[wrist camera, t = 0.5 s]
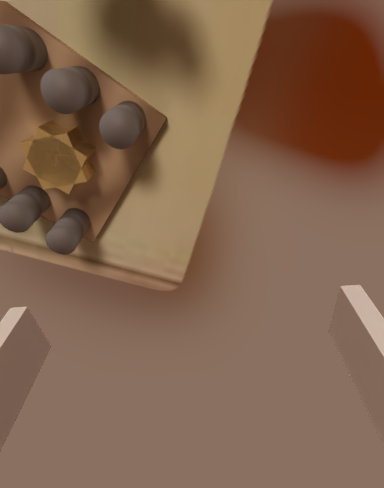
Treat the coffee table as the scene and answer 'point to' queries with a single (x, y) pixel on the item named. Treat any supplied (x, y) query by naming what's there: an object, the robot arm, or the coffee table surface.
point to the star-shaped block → (58, 157)
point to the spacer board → (66, 115)
